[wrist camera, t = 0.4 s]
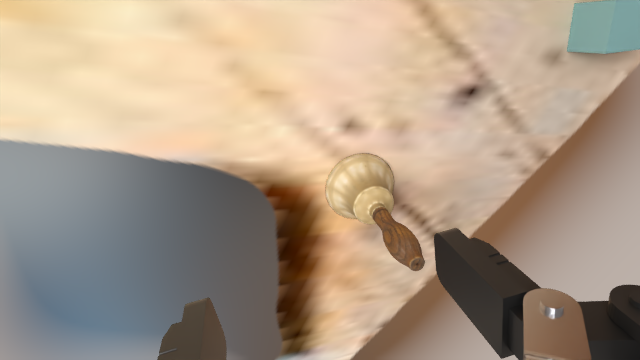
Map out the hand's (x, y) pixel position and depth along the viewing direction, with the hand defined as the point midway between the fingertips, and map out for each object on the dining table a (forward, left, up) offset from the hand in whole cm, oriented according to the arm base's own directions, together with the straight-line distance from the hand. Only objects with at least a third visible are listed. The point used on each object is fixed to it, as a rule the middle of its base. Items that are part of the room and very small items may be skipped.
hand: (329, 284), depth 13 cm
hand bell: (+10, +9, -28) cm, 31 cm away
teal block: (-5, +37, -28) cm, 47 cm away
